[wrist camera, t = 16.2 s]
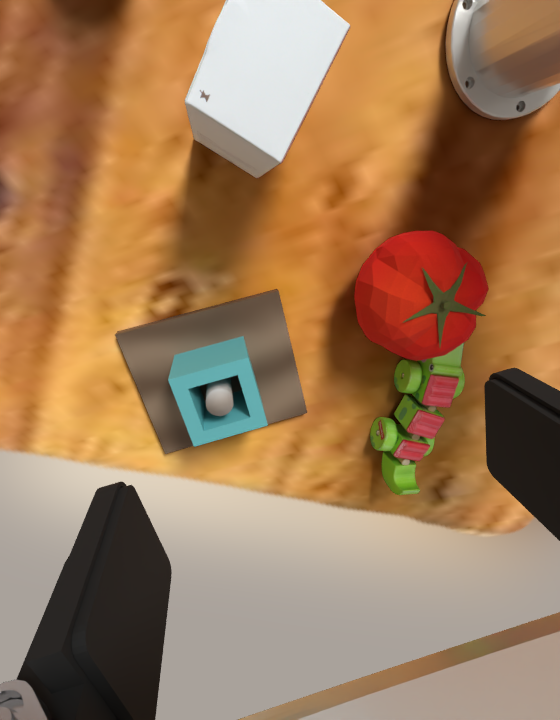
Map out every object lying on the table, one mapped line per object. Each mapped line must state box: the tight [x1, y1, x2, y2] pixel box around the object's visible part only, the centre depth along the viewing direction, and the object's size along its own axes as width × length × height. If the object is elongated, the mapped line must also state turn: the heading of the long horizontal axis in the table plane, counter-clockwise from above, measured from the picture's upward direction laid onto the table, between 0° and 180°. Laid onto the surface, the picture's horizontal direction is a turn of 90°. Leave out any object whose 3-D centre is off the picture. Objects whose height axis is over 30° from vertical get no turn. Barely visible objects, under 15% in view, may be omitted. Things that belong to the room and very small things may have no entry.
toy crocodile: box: [370, 343, 465, 495], centre depth 44 cm, size 20×7×6 cm, turn 164°
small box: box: [185, 0, 350, 178], centre depth 27 cm, size 8×6×13 cm
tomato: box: [354, 231, 488, 361], centre depth 36 cm, size 12×12×10 cm
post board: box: [115, 289, 307, 454], centre depth 38 cm, size 14×16×7 cm
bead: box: [168, 336, 268, 447], centre depth 38 cm, size 7×7×6 cm
